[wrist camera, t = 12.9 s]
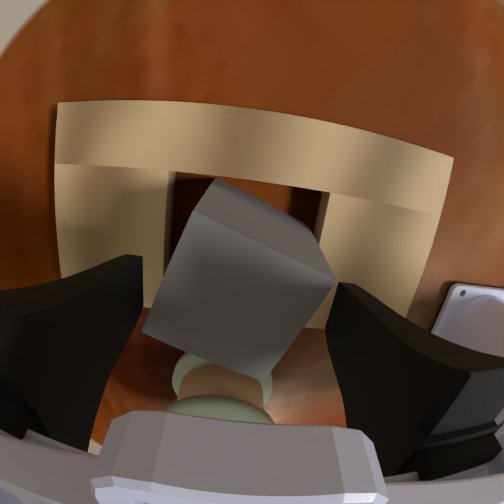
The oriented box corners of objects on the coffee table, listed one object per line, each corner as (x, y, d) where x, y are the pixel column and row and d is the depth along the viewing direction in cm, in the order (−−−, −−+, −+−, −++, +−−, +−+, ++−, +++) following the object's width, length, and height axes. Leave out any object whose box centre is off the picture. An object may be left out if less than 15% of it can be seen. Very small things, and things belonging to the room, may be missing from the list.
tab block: (307, 224, 16) (337, 280, 10) (259, 302, 17) (263, 381, 12) (215, 177, 15) (192, 210, 9) (175, 263, 16) (141, 332, 11)
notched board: (438, 154, 14) (453, 158, 12) (389, 318, 18) (398, 333, 16) (73, 103, 13) (58, 103, 11) (75, 279, 17) (63, 291, 15)
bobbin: (280, 349, 18) (287, 413, 14) (263, 413, 21) (265, 470, 16) (174, 336, 18) (154, 397, 13) (175, 403, 20) (162, 458, 16)
